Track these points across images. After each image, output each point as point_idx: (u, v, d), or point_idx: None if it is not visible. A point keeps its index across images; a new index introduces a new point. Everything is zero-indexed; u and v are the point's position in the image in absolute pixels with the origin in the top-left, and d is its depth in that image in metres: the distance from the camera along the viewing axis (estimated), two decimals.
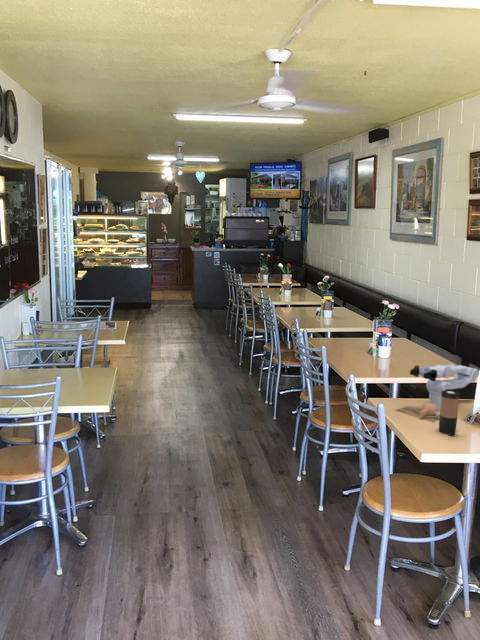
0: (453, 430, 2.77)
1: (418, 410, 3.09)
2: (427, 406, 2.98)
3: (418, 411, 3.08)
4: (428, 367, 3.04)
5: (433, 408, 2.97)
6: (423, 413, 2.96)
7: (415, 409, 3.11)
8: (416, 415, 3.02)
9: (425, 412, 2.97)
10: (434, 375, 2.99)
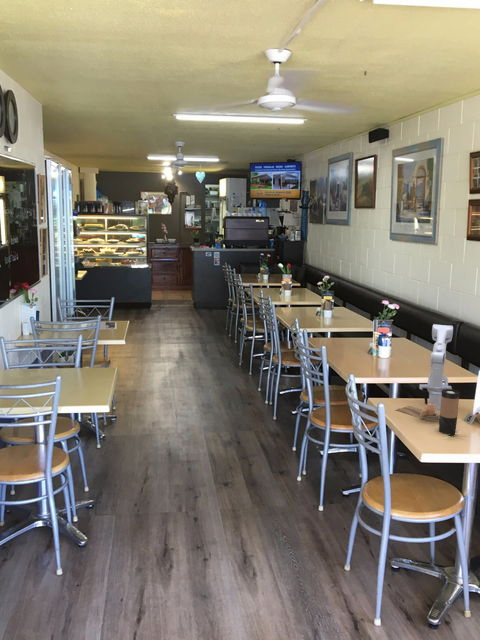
0: (453, 430, 2.77)
1: (418, 410, 3.09)
2: (427, 406, 2.98)
3: (418, 411, 3.08)
4: (437, 388, 2.88)
5: (433, 408, 2.97)
6: (423, 413, 2.96)
7: (415, 409, 3.11)
8: (416, 415, 3.02)
9: (425, 412, 2.97)
10: None
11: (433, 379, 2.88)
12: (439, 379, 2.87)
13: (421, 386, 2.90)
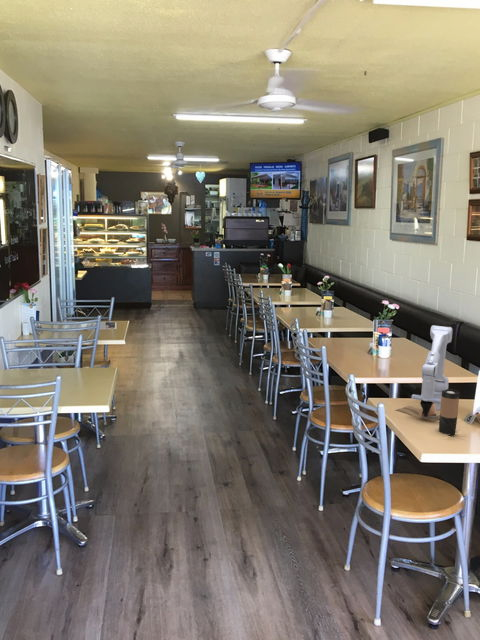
0: (453, 430, 2.77)
1: (418, 410, 3.09)
2: None
3: (418, 411, 3.08)
4: (426, 400, 2.91)
5: (433, 408, 2.97)
6: (423, 413, 2.96)
7: (415, 409, 3.11)
8: (416, 415, 3.02)
9: None
10: None
11: (422, 390, 2.92)
12: (428, 391, 2.90)
13: (412, 396, 2.96)
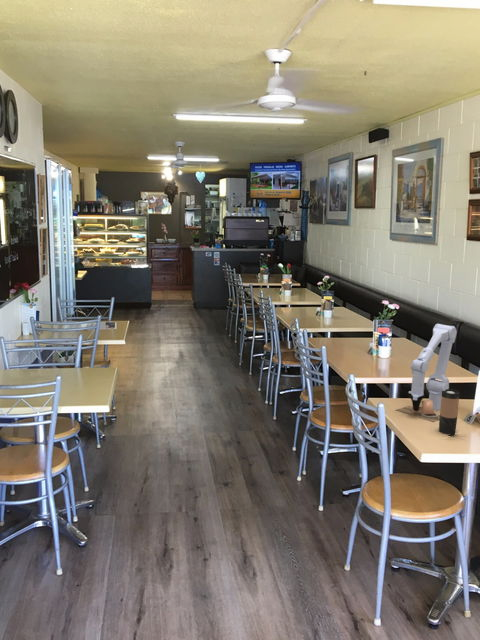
0: (453, 430, 2.77)
1: None
2: None
3: None
4: None
5: (424, 404, 3.00)
6: None
7: None
8: (416, 415, 3.02)
9: None
10: None
11: None
12: (412, 384, 3.01)
13: None
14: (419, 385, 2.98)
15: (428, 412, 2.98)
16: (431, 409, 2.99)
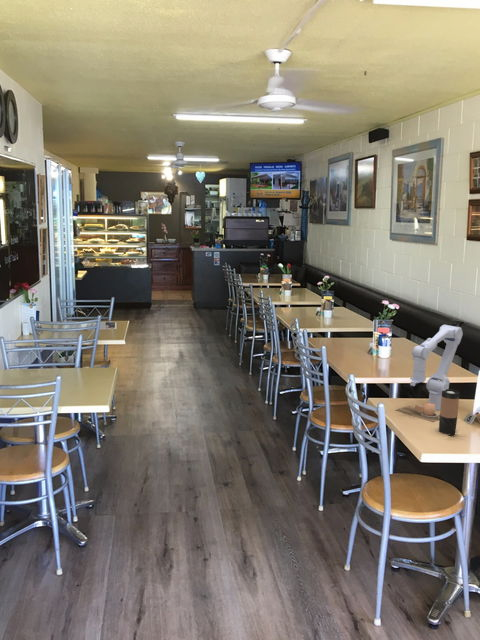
0: (453, 430, 2.77)
1: None
2: None
3: (418, 411, 3.08)
4: None
5: (425, 407, 2.99)
6: (417, 407, 3.04)
7: None
8: (416, 415, 3.02)
9: (420, 408, 3.03)
10: None
11: None
12: (413, 370, 3.02)
13: None
14: (419, 371, 2.98)
15: None
16: (431, 413, 2.98)
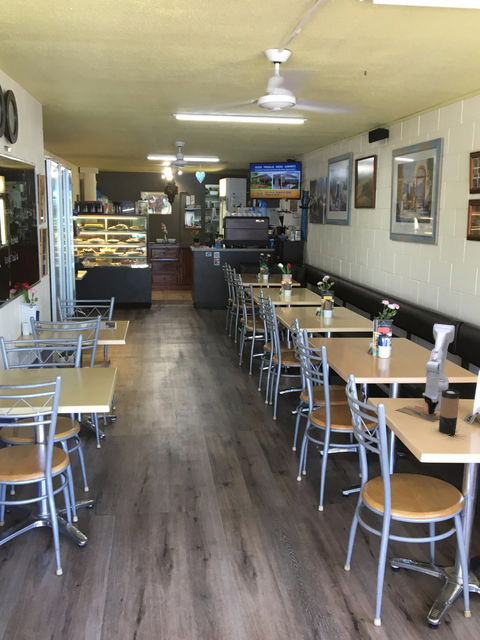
0: (453, 430, 2.77)
1: (418, 410, 3.09)
2: None
3: (418, 411, 3.08)
4: None
5: (425, 407, 2.99)
6: (416, 407, 3.04)
7: None
8: (416, 415, 3.02)
9: (419, 408, 3.03)
10: None
11: None
12: (426, 386, 2.97)
13: None
14: (435, 386, 2.95)
15: None
16: None
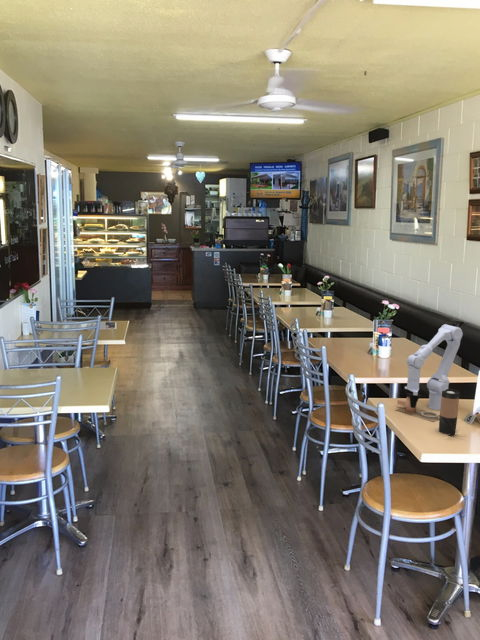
0: (453, 430, 2.77)
1: (418, 410, 3.09)
2: None
3: (418, 411, 3.08)
4: None
5: (407, 401, 3.07)
6: (399, 402, 3.12)
7: None
8: (416, 415, 3.02)
9: (402, 402, 3.11)
10: None
11: None
12: (408, 380, 3.05)
13: None
14: (416, 380, 3.03)
15: (409, 410, 3.06)
16: (412, 408, 3.06)
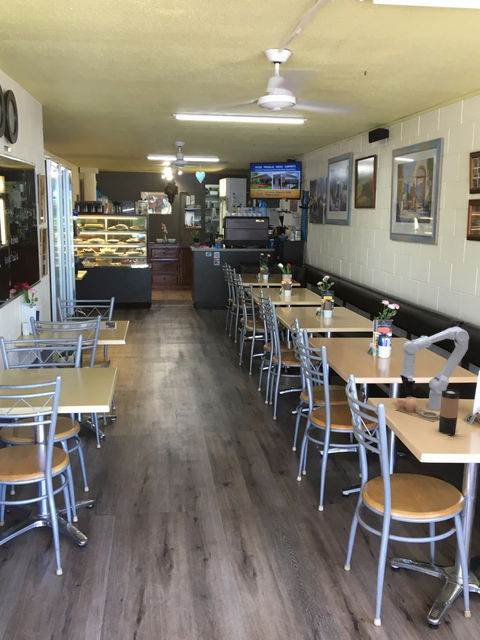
0: (453, 430, 2.77)
1: (418, 410, 3.09)
2: None
3: (418, 411, 3.08)
4: None
5: (406, 401, 3.07)
6: (399, 402, 3.12)
7: None
8: (416, 415, 3.02)
9: (402, 402, 3.11)
10: None
11: None
12: (403, 366, 3.10)
13: None
14: (411, 366, 3.08)
15: (409, 410, 3.06)
16: (412, 408, 3.06)
